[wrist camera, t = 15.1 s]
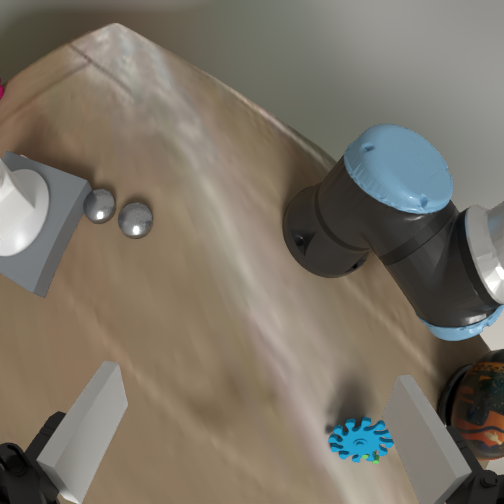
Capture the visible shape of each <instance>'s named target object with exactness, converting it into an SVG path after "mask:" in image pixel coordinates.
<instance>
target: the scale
mask: <svg viewBox="0 0 504 504" xmlns="http://www.w3.org/2000/svg"><path fill="white" fill-rule="evenodd" d="M1 160H2V161H3V162H4V164H5V165H6V166H7V167H8V169H9V170H10V171H11V172H12V173H13V175H14V176H15V177H16V178H17V179H18V181H19V182H20V184H21V186H22V187H23V189H24V191H25V192H26V194H27V196H28V197H29V199H30V201H31V202H32V204H33V205H34V208H35V209H34V210H33V211H32V212H31V213H30V214H29V215H28V216H27V217H26V218H25V219H24V220H23V221H22V223H21V224H20V225H19V226H18V227H17V228H16V229H15V230H14V231H13V232H12V233H11V234H10V235H9V236H8V237H7V239H6V240H5V241H3V240H1V239H0V273H1V274H3V275H4V276H6V277H7V278H9V279H11V280H12V281H14V282H15V283H17V284H19V285H20V286H22V287H23V288H25V289H27V290H28V291H30V292H32V293H33V294H36V295H39V296H41V297H44V298H45V296H46V293H47V291H48V288H49V286H50V283H51V281H52V278H53V276H54V274H55V271H56V269H57V267H58V264H59V262H60V260H61V257H62V255H63V253H64V251H65V249H66V246H67V244H68V242H69V240H70V238H71V236H72V234H73V232H74V230H75V228H76V226H77V224H78V222H79V220H80V218H81V216H82V214H83V212H84V211H83V203H84V200H85V198H86V197H87V195H88V194H89V193H91V192H92V191H93V190H92V188H91V186H90V184H89V182H88V180H85V179H82V178H80V177H77V176H74V175H72V174H69V173H66V172H64V171H61V170H58V169H55V168H53V167H50V166H47V165H45V164H42V163H39V162H36V161H34V160H31V159H28V158H27V157H25V155H24V154H23V155H17V154H14V153H12V152H9V151H6V153H5V154H4V156H3V157H2V159H1Z"/></svg>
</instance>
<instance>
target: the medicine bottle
mask: <svg viewBox="0 0 504 504" xmlns="http://www.w3.org/2000/svg"><path fill="white" fill-rule="evenodd" d="M34 209H35V208H34V205H33V204H32V202H31V201H30V199H29V197H28V196H27V194H26V192H25V191H24V189H23V187H22V186H21V184H20V182H19V181H18V179H17V178H16V177H15V176H14V175H13V173H12V172H11V171H10V170H9V169H8V167H7V166H6V165H5V164H4V162H3V161H2V160H1V159H0V239H1V240H3V241H5V240H6V239H7V237H8V236H9V235H10V234H11V233H12V232H13V231H14V230H15V229H16V228H17V227H18V226H19V225H20V224H21V223H22V221H23V220H24V219H25V218H26V217H27V216H28V215H29V214H30V213H31V212H32V211H33V210H34Z"/></svg>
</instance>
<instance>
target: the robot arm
mask: <svg viewBox="0 0 504 504" xmlns="http://www.w3.org/2000/svg"><path fill="white" fill-rule="evenodd" d="M447 171H448V166H447V164H446V162H445V160H444V159H443V157H442V156H441V154H440V153H439V152H438V151H437V150H436V148H434V146H432V144H431V143H429V142H428V141H427V140H426V139H425V138H423V137H422V136H420V135H419V134H417V133H416V132H414V131H412V130H410V129H408V128H403V127H400V126H398V125H394V124H379V125H375V126H373V127H370V128H369V129H367V130H366V131H365V132H364V133H363V134H362V135H361V136H360V137H359V138H358V139H357V140H356V141H354V142H353V143H351V144H350V145H349V146H348V148H347V150H346V151H345V154H344V155H343V156H342V157H341V159H340V160H339V161H338V162H337V164H336V165H335V166H334V167H333V169H332V170H331V171H330V172H329V174H328V175H327V176H326V177H325V179H324V180H323V181H322V182H321V183H319V184H316V185H314V186H311V187H308V188H306V189H304V190H303V191H301V192H300V193H299V194H298V195H297V196H296V197H295V198H294V199H293V200H292V202H291V203H290V205H289V206H288V208H287V210H286V212H285V215H284V219H283V234H284V238H285V242H286V245H287V247H288V249H289V251H290V253H291V254H292V256H293V257H294V258H295V260H296V261H297V262H298V263H299V264H300V265H301V266H302V267H304V268H305V269H306V270H308V271H310V272H311V273H313V274H316V275H318V276H322V277H326V278H337V277H342V276H345V275H347V274H349V273H351V272H353V271H355V270H357V269H358V268H359V267H360V266H362V265H363V264H364V262H365V261H366V260H367V258H368V257H369V255H370V253H371V252H372V250H373V251H374V252H375V253H376V255H377V256H378V257H379V259H380V260H381V261H382V263H383V264H384V266H385V267H386V269H387V270H388V271H389V273H390V274H391V276H392V277H393V279H394V280H395V281H396V283H397V284H398V286H399V287H400V289H401V290H402V292H403V293H404V295H405V296H406V298H407V299H408V301H409V302H410V304H411V305H412V307H413V308H414V310H415V312H416V315H417V316H418V317H419V319H420V320H421V321H422V322H423V323H424V324H425V325H426V326H427V328H428V329H429V330H430V332H431V333H432V334H433V335H435V336H436V337H438V338H440V339H443V340H448V341H458V340H463V339H467V338H470V337H473V336H475V335H477V334H479V333H481V332H482V331H483V328H484V327H485V326H490V325H492V324H493V323H494V322H495V321H496V320H497V318H498V317H499V316H500V314H501V312H502V311H503V308H504V201H503V202H502V203H500V204H499V205H497V206H496V207H494V208H492V209H491V210H488V209H486V208H484V207H481V206H479V205H473V206H470V207H469V208H467V209H466V210H464V211H463V212H461V213H460V212H459V211H458V210H457V208H456V207H455V205H454V204H453V203H452V201H451V200H450V198H451V196H452V193H453V180H452V176H451V174H450V173H448V172H447ZM127 406H128V403H127V399H126V395H125V390H124V386H123V381H122V377H121V372H120V367H119V363H115V362H110V361H104V362H103V363H102V365H101V366H100V367H99V369H98V370H97V372H96V373H95V374H94V376H93V377H92V379H91V380H90V381H89V383H88V384H87V386H86V387H85V388H84V390H83V391H82V393H81V394H80V395H79V397H78V398H77V400H76V401H75V403H74V404H73V405H72V407H71V408H70V410H69V411H68V413H67V414H65V413H63V412H60V411H58V412H56V413H55V414H53V415H52V416H50V417H49V418H48V420H47V421H46V423H45V424H44V427H42V428H41V430H40V431H39V433H38V434H37V435H36V437H35V438H34V440H33V441H32V442H31V444H30V445H29V447H28V448H27V450H26V451H25V453H24V452H23V450H22V449H21V448H20V447H19V446H18V445H17V444H14V443H4V444H1V445H0V504H60V503H59V500H58V499H57V495H58V493H59V492H60V493H61V495H62V496H63V497H64V498H65V499H67V500H69V501H72V502H74V503H77V504H82V501H83V499H84V497H85V495H86V492H87V490H88V488H89V486H90V484H91V481H92V479H93V477H94V475H95V473H96V471H97V468H98V466H99V464H100V462H101V460H102V458H103V456H104V453H105V451H106V449H107V447H108V445H109V443H110V441H111V439H112V437H113V435H114V433H115V431H116V429H117V427H118V424H119V422H120V420H121V418H122V416H123V414H124V412H125V410H126V408H127ZM382 417H383V420H384V422H385V424H386V426H387V428H388V431H389V433H390V435H391V437H392V440H393V442H394V444H395V446H396V449H397V451H398V453H399V456H400V458H401V460H402V463H403V465H404V467H405V470H406V472H407V474H408V477H409V479H410V482H411V484H412V486H413V489H414V491H415V494H416V496H417V499H418V501H419V504H443V503H444V502H446V504H504V475H497V474H496V473H495V472H493V471H491V470H483V469H482V467H481V466H480V464H479V462H478V461H477V459H476V457H475V456H474V454H473V453H472V451H471V449H470V448H469V447H468V445H467V443H466V442H465V441H464V438H463V437H462V435H461V434H460V432H459V431H458V430H456V429H455V428H454V427H452V426H447V427H445V426H444V424H443V423H442V421H441V420H440V418H439V417H438V415H437V413H436V412H435V410H434V409H433V407H432V406H431V404H430V403H429V401H428V400H427V398H426V397H425V395H424V394H423V392H422V391H421V389H420V388H419V386H418V385H417V383H416V382H415V380H414V379H413V377H412V376H411V374H410V375H401V376H397V379H396V382H395V384H394V387H393V390H392V392H391V395H390V397H389V400H388V402H387V405H386V407H385V409H384V412H383V414H382Z"/></svg>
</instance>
